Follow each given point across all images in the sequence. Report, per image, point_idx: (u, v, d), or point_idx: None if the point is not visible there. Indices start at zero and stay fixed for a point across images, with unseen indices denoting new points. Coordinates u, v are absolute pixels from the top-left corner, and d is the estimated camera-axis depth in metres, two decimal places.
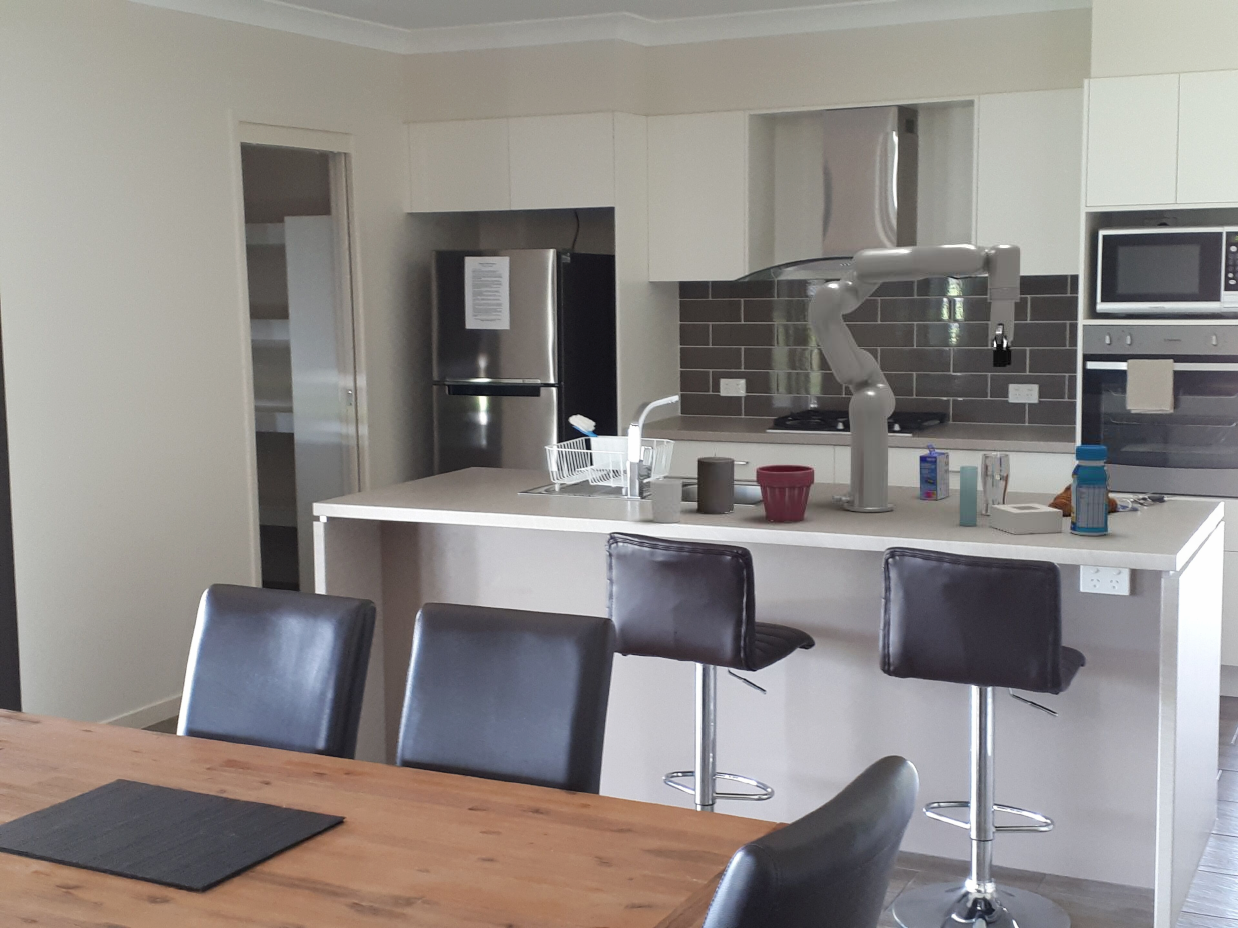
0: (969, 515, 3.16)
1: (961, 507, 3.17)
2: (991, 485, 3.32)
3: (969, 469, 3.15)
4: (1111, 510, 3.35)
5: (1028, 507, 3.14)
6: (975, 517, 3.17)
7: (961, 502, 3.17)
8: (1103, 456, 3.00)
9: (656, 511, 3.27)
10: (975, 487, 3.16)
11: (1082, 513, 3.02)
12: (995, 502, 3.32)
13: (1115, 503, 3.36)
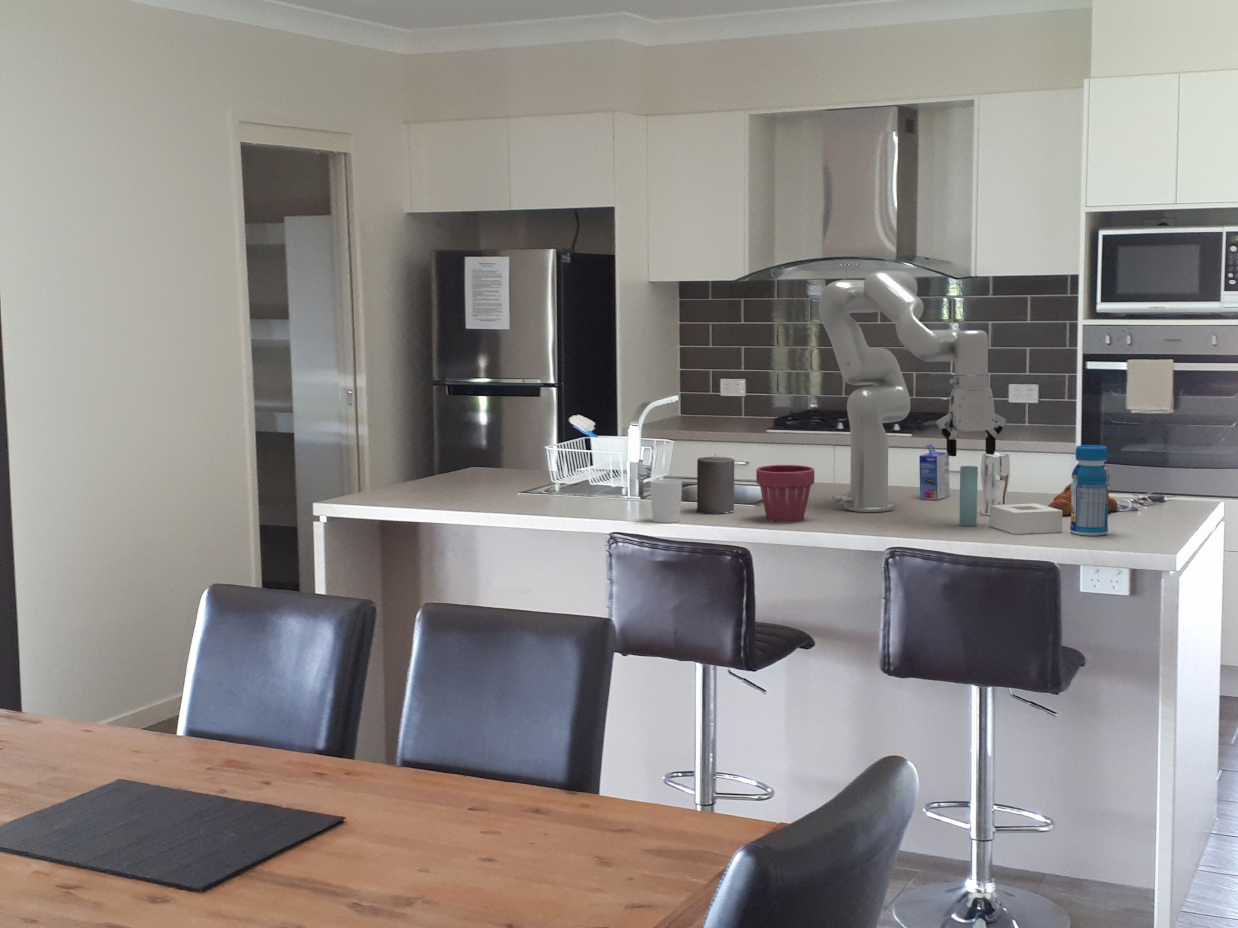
0: (969, 515, 3.16)
1: (961, 507, 3.17)
2: (991, 485, 3.32)
3: (969, 469, 3.15)
4: (1111, 510, 3.35)
5: (1028, 507, 3.14)
6: (975, 517, 3.17)
7: (961, 502, 3.17)
8: (1103, 456, 3.00)
9: (656, 511, 3.27)
10: (975, 487, 3.16)
11: (1082, 513, 3.02)
12: (995, 502, 3.32)
13: (1115, 503, 3.36)
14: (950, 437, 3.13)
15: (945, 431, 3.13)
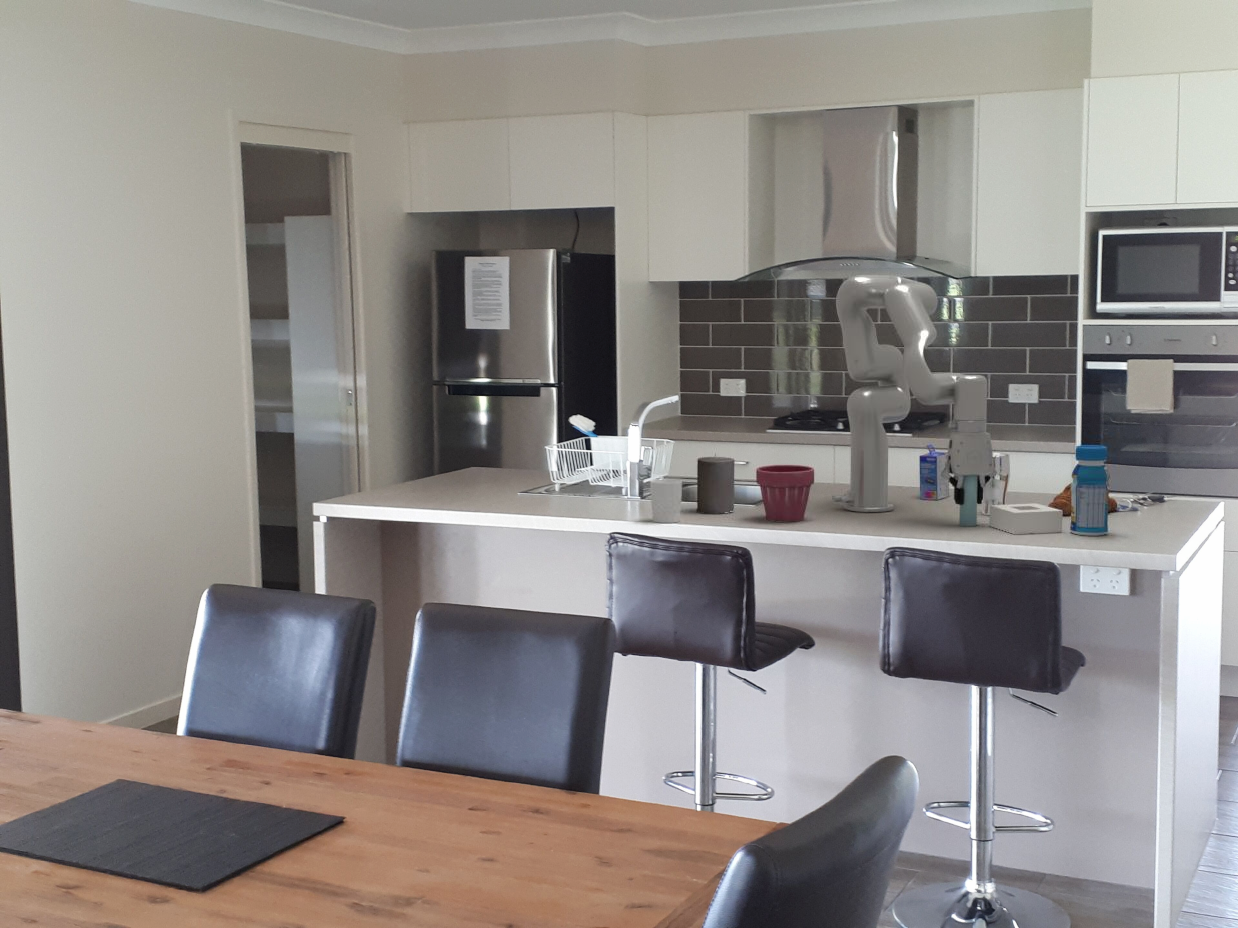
0: (969, 515, 3.16)
1: (961, 507, 3.17)
2: (991, 485, 3.32)
3: None
4: (1111, 510, 3.35)
5: (1028, 507, 3.14)
6: (975, 517, 3.17)
7: None
8: (1103, 456, 3.00)
9: (656, 511, 3.27)
10: (975, 487, 3.16)
11: (1082, 513, 3.02)
12: (995, 502, 3.32)
13: (1115, 503, 3.36)
14: (958, 486, 3.16)
15: (953, 480, 3.15)
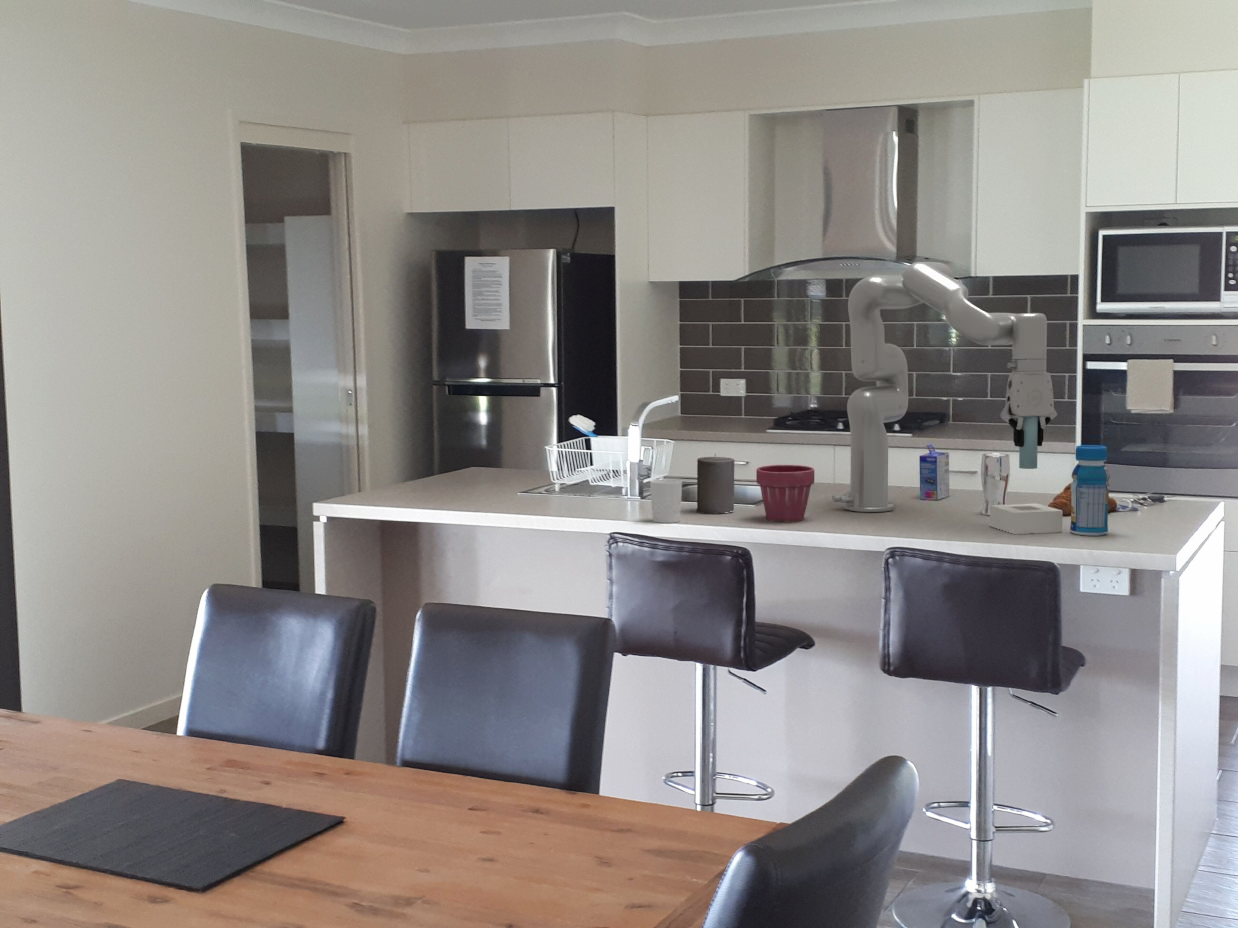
0: (1030, 457, 3.07)
1: (1021, 449, 3.08)
2: (991, 485, 3.32)
3: None
4: (1110, 510, 3.36)
5: (1028, 507, 3.14)
6: (1036, 459, 3.08)
7: None
8: (1103, 456, 3.00)
9: (656, 511, 3.27)
10: (1035, 428, 3.07)
11: (1082, 513, 3.02)
12: (995, 502, 3.32)
13: (1114, 503, 3.37)
14: (1018, 428, 3.07)
15: (1013, 421, 3.07)
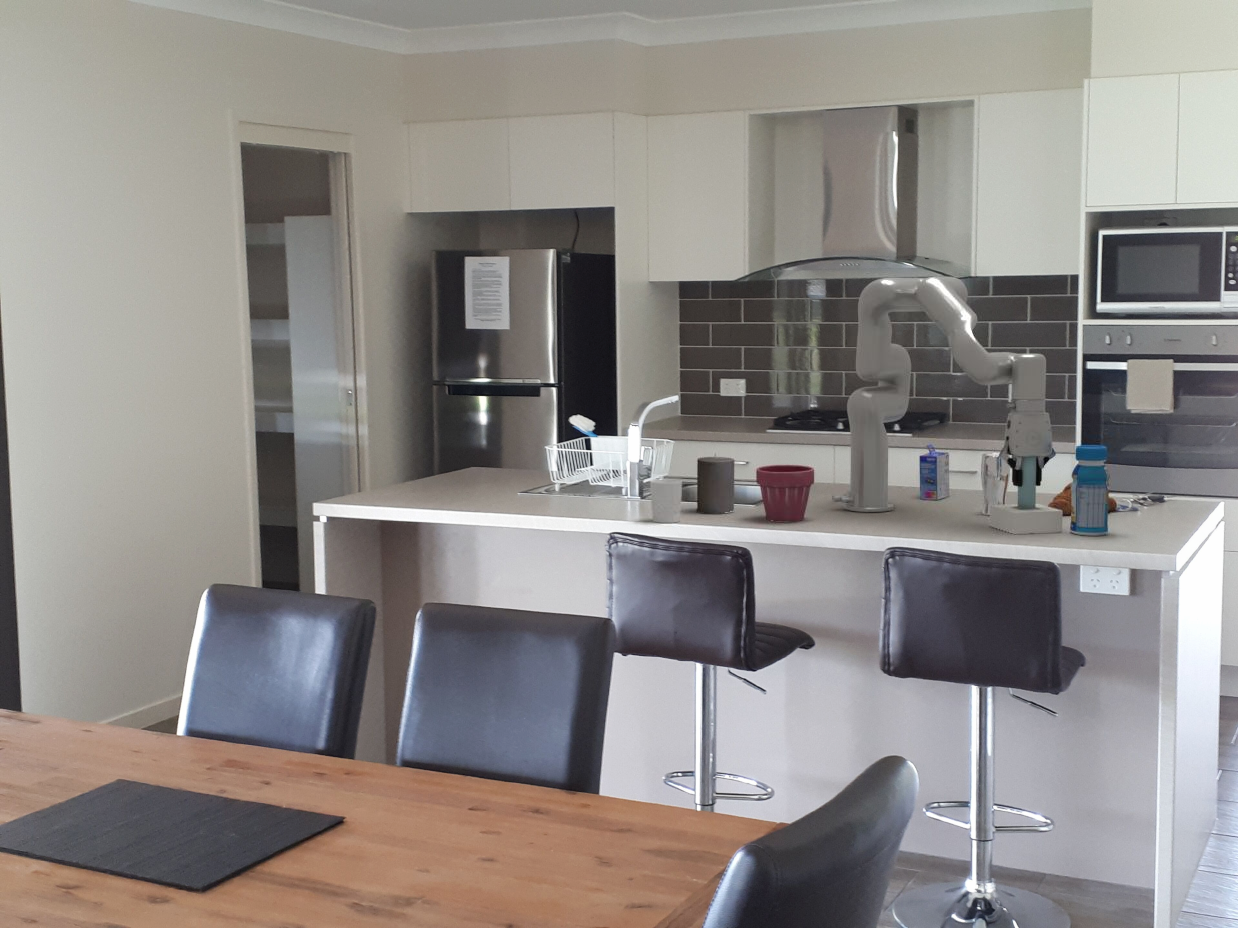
0: (1028, 497, 3.09)
1: (1020, 489, 3.10)
2: (991, 485, 3.32)
3: None
4: (1110, 510, 3.36)
5: None
6: (1034, 499, 3.09)
7: None
8: (1103, 456, 3.00)
9: (656, 511, 3.27)
10: (1034, 468, 3.08)
11: (1082, 513, 3.02)
12: (995, 502, 3.32)
13: (1114, 503, 3.37)
14: (1016, 468, 3.08)
15: (1011, 461, 3.08)
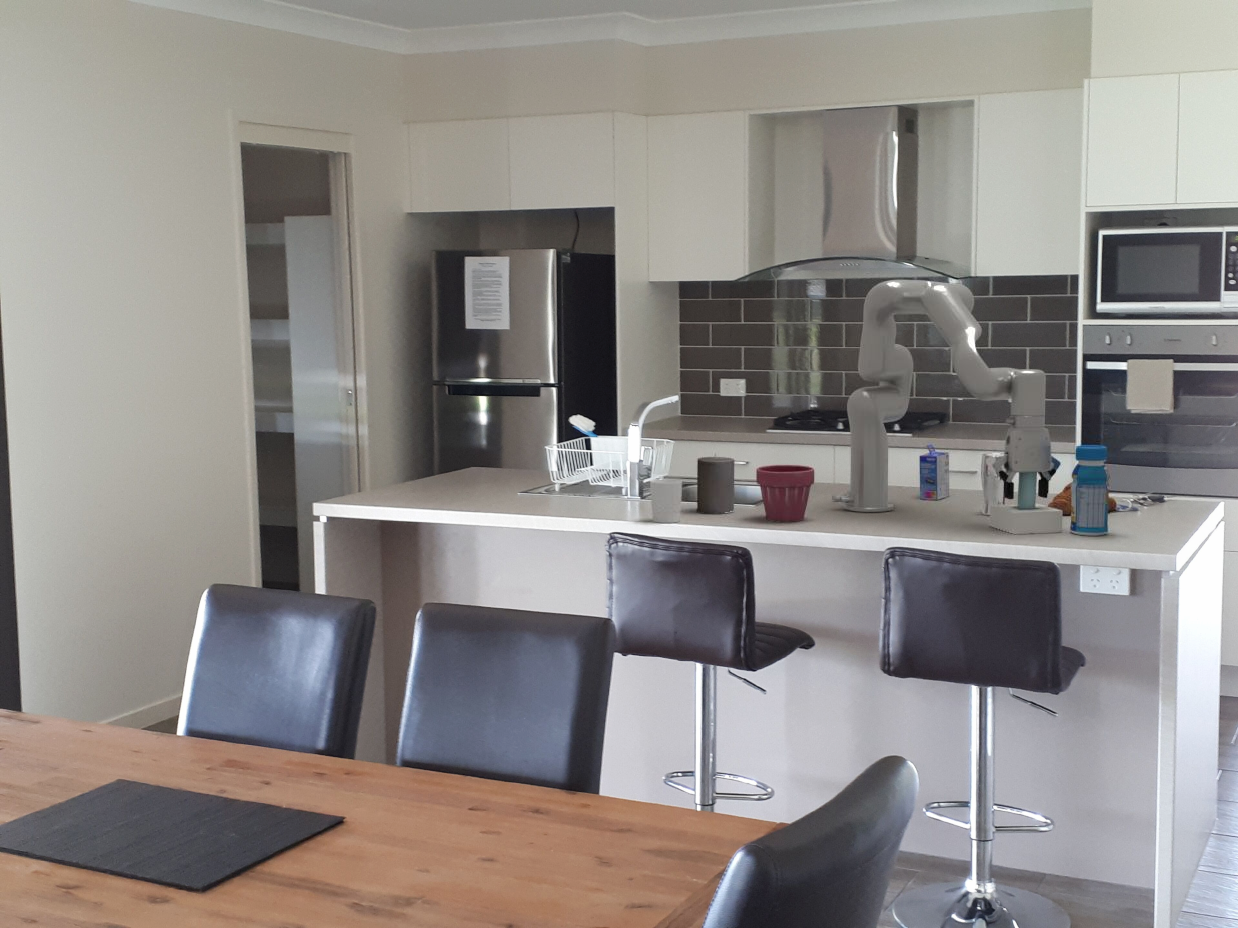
0: None
1: None
2: (991, 485, 3.32)
3: (1028, 472, 3.08)
4: (1110, 509, 3.36)
5: None
6: None
7: (1019, 505, 3.10)
8: (1103, 456, 3.00)
9: (656, 511, 3.27)
10: (1034, 490, 3.09)
11: (1082, 513, 3.02)
12: (995, 502, 3.32)
13: (1114, 502, 3.37)
14: (1008, 480, 3.08)
15: (1003, 473, 3.08)
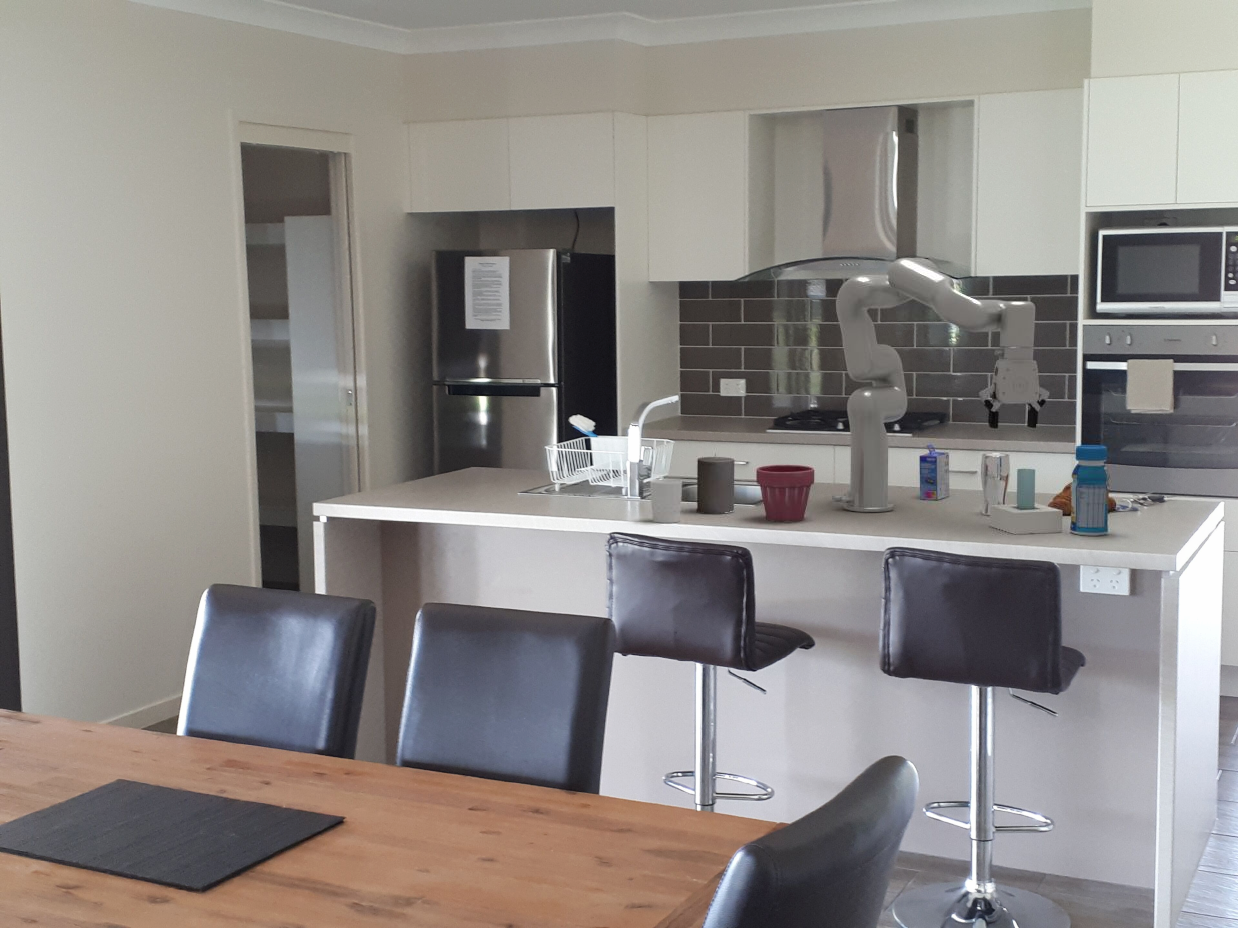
0: None
1: None
2: (991, 485, 3.32)
3: (1027, 472, 3.08)
4: (1110, 509, 3.36)
5: None
6: None
7: (1018, 506, 3.10)
8: (1103, 456, 3.00)
9: (656, 511, 3.27)
10: (1033, 490, 3.09)
11: (1082, 513, 3.02)
12: (995, 502, 3.32)
13: (1114, 502, 3.37)
14: (992, 409, 3.10)
15: (988, 402, 3.10)
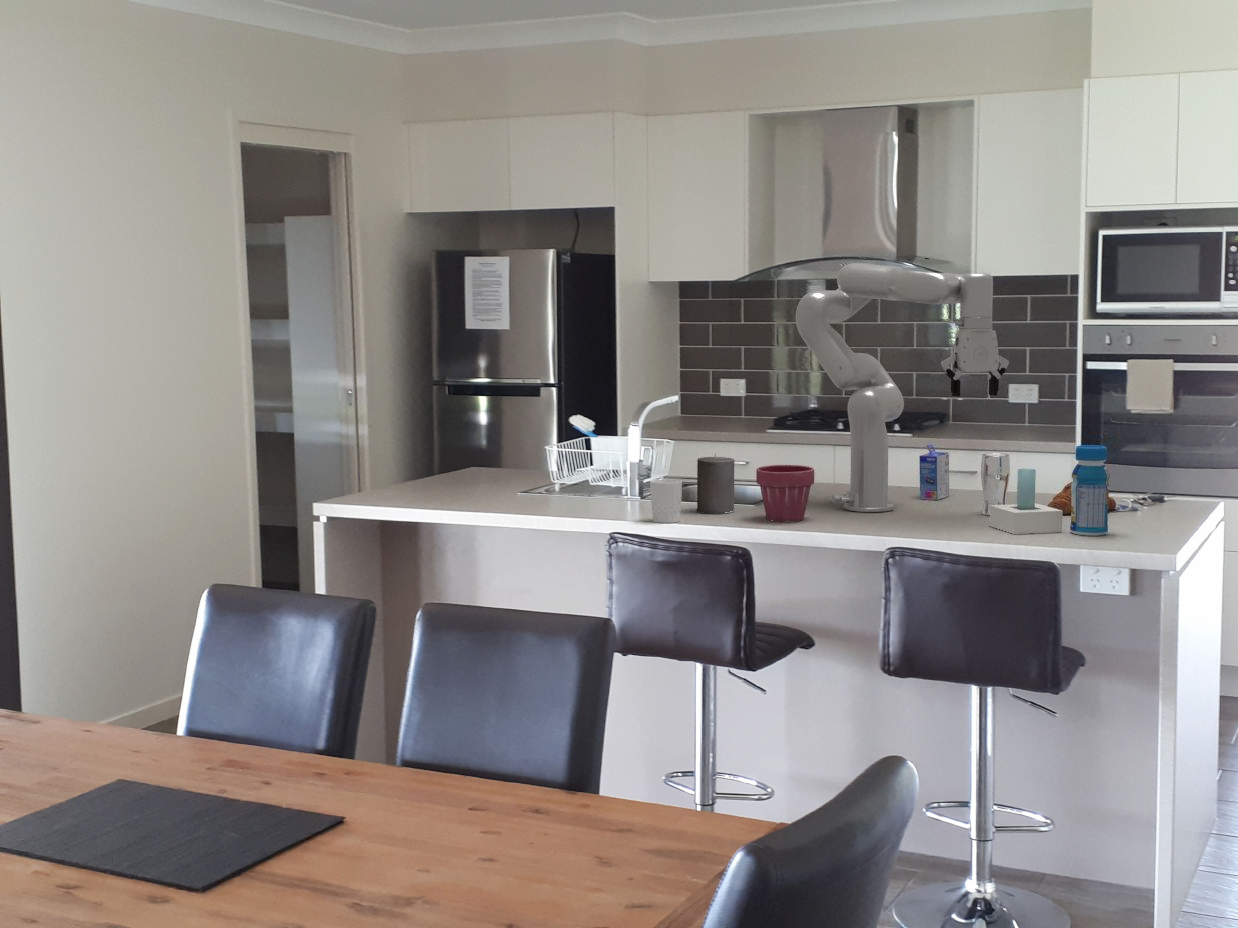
0: None
1: None
2: (991, 485, 3.32)
3: (1027, 472, 3.08)
4: (1110, 509, 3.37)
5: None
6: None
7: (1018, 505, 3.10)
8: (1103, 456, 3.00)
9: (656, 511, 3.27)
10: (1033, 490, 3.09)
11: (1082, 513, 3.02)
12: (995, 502, 3.32)
13: (1114, 502, 3.38)
14: (954, 377, 3.21)
15: (950, 371, 3.21)
